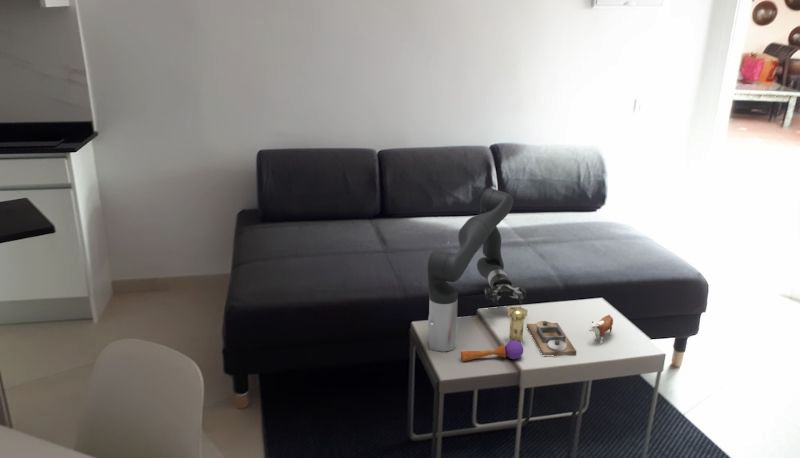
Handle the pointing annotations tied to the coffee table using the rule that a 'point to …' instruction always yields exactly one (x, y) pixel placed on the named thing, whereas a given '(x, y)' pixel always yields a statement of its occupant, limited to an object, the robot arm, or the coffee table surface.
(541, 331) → the board
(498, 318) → the coffee table surface
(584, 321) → the coffee table surface
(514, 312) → the brass pinion
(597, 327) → the bull figurine
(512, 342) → the kendama
